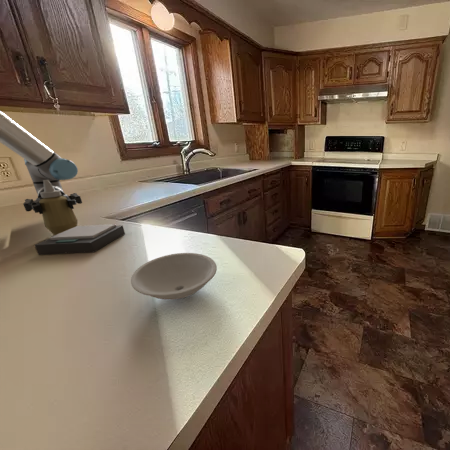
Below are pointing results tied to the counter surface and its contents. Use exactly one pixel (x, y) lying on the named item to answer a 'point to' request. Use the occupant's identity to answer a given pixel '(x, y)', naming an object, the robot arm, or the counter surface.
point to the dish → (174, 275)
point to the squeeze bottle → (56, 210)
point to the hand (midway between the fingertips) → (55, 207)
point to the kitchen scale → (80, 239)
